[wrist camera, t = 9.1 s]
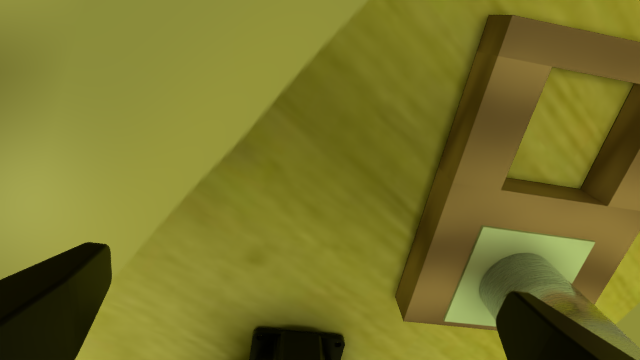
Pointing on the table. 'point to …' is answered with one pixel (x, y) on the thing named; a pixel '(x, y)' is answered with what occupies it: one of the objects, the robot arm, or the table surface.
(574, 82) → the table surface
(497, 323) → the robot arm
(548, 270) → the clear glass jar
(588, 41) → the pocket block
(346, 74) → the table surface
